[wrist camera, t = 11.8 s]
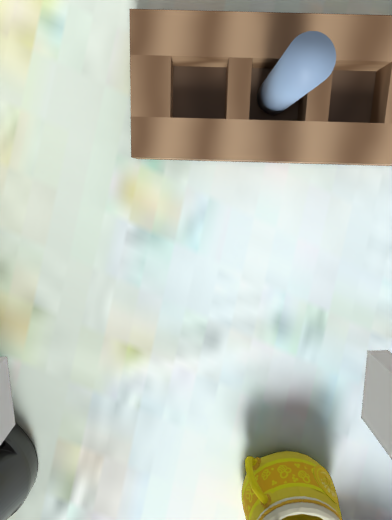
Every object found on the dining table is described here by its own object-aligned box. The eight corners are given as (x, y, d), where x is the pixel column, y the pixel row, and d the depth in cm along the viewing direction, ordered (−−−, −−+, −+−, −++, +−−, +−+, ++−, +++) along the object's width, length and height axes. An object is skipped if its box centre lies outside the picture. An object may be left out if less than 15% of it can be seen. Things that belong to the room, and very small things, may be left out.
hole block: (137, 158, 37) (131, 157, 34) (136, 25, 34) (129, 8, 31) (398, 166, 37) (417, 165, 33) (417, 32, 34) (440, 16, 31)
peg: (255, 113, 35) (283, 85, 24) (258, 77, 35) (287, 29, 23) (289, 115, 35) (332, 87, 24) (292, 79, 35) (339, 31, 23)
